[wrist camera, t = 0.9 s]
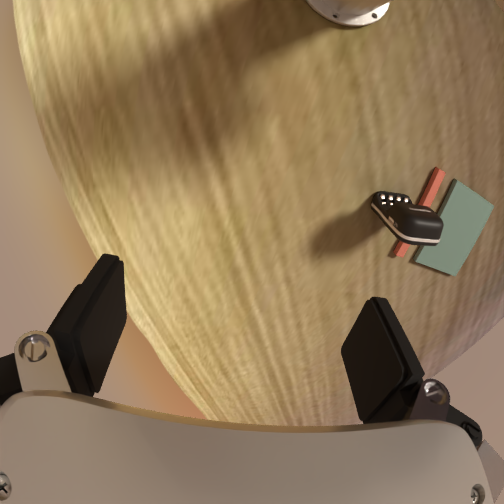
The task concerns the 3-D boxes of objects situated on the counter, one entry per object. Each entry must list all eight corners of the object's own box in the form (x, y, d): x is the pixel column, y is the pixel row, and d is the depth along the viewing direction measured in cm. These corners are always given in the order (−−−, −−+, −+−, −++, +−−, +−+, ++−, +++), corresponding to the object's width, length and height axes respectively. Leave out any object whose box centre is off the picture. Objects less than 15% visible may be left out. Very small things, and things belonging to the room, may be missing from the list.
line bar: (435, 166, 39) (439, 169, 38) (441, 170, 39) (445, 172, 38) (393, 251, 47) (396, 255, 45) (399, 253, 47) (402, 257, 46)
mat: (454, 178, 40) (457, 180, 39) (490, 203, 42) (494, 206, 41) (412, 258, 47) (415, 261, 46) (452, 273, 49) (455, 276, 48)
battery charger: (411, 190, 41) (451, 222, 31) (406, 212, 43) (442, 248, 33) (373, 184, 41) (409, 216, 31) (368, 208, 43) (400, 245, 33)
